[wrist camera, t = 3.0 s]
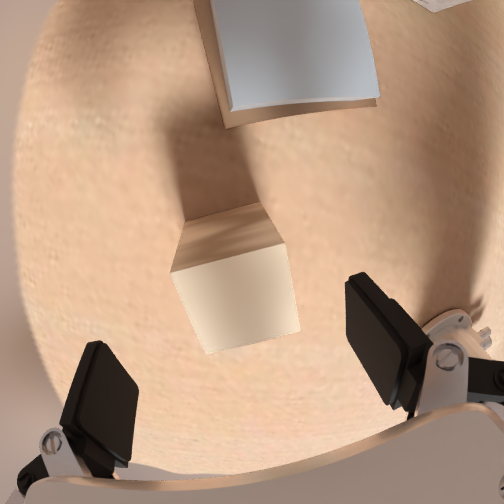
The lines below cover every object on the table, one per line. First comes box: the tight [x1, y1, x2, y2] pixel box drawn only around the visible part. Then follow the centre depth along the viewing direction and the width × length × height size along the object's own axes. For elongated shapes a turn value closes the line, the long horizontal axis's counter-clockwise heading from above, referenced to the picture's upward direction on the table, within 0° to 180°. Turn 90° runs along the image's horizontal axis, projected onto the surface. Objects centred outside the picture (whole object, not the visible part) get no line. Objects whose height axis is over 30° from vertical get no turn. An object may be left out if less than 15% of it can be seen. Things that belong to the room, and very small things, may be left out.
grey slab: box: [210, 0, 380, 112], centre depth 10 cm, size 7×7×3 cm
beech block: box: [170, 202, 300, 354], centre depth 16 cm, size 5×5×7 cm
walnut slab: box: [194, 0, 377, 129], centre depth 13 cm, size 9×9×3 cm
